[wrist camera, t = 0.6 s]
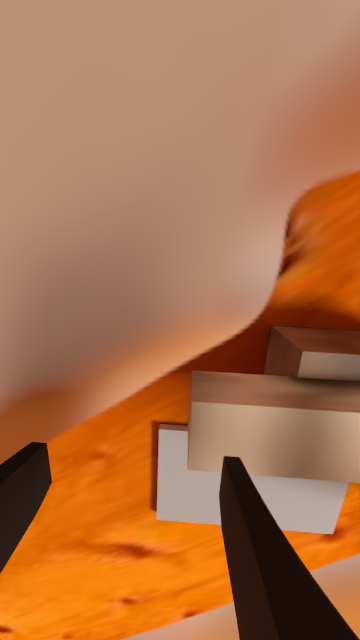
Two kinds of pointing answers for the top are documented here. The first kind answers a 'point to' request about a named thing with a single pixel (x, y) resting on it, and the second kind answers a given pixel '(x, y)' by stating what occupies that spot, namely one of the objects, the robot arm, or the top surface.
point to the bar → (275, 425)
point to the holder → (313, 353)
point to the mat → (277, 492)
